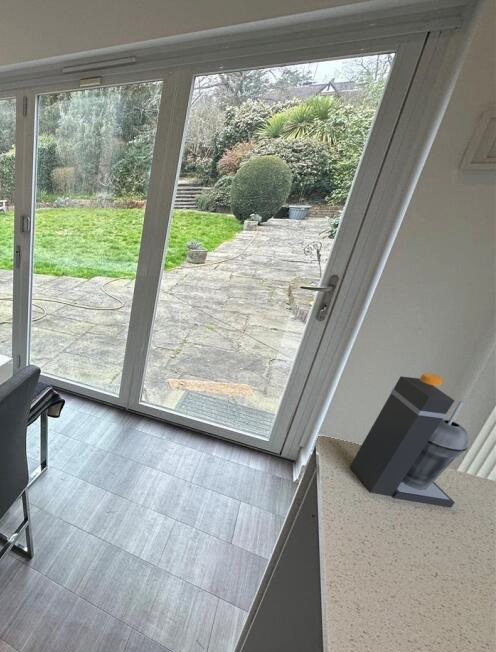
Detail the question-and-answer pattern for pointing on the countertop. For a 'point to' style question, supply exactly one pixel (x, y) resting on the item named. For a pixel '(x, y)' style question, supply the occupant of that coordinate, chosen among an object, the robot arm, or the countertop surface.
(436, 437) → the beverage cup
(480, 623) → the countertop surface
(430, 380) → the brew button
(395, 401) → the espresso machine
